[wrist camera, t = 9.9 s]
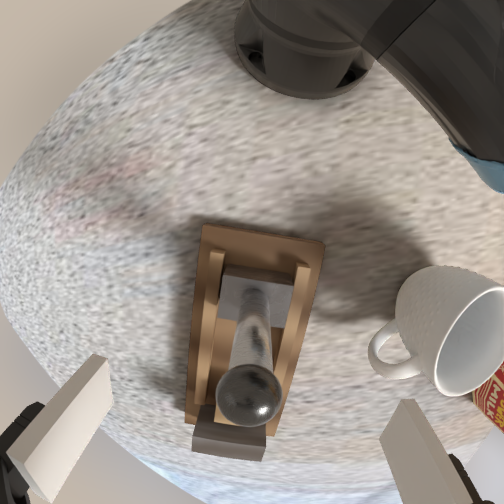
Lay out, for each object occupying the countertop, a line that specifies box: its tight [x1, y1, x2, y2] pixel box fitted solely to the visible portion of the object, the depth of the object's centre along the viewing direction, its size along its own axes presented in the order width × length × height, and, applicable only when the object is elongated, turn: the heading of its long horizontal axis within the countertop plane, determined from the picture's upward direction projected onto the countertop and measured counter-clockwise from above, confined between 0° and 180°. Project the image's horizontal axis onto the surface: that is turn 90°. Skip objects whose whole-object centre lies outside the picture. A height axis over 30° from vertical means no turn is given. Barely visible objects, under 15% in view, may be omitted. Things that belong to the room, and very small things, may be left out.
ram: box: [216, 263, 294, 427], centre depth 20 cm, size 4×6×18 cm, turn 81°
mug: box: [368, 265, 504, 396], centre depth 25 cm, size 15×11×13 cm
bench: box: [185, 223, 325, 462], centre depth 29 cm, size 26×12×8 cm, turn 171°
